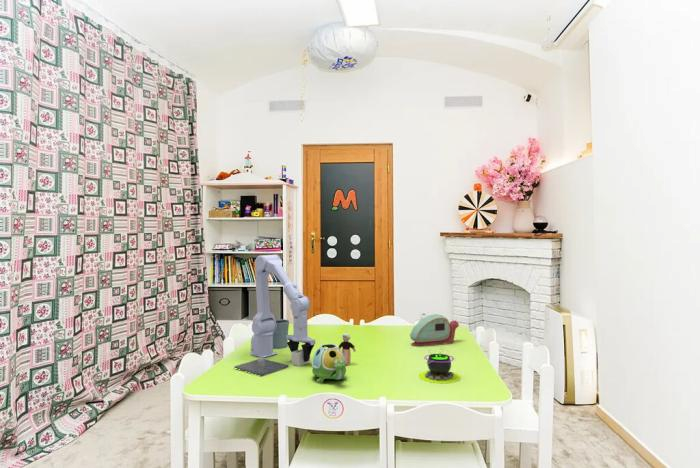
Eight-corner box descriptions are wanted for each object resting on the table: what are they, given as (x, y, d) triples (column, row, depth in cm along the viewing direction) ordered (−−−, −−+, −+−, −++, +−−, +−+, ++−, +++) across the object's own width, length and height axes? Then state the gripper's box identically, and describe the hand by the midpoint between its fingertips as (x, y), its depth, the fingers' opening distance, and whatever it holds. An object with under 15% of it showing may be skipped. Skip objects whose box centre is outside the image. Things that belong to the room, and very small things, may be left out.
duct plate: (234, 368, 182) (234, 358, 182) (261, 360, 193) (261, 351, 193) (261, 376, 172) (261, 365, 172) (288, 367, 183) (288, 357, 183)
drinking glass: (263, 348, 214) (263, 322, 214) (273, 343, 223) (273, 318, 223) (283, 349, 211) (283, 323, 211) (292, 344, 220) (292, 319, 220)
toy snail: (414, 347, 213) (414, 317, 213) (407, 343, 220) (407, 315, 220) (462, 343, 220) (462, 314, 220) (454, 339, 227) (454, 311, 227)
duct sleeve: (299, 366, 185) (299, 353, 185) (291, 364, 188) (291, 351, 188) (310, 362, 190) (309, 350, 190) (302, 360, 193) (302, 348, 193)
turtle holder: (324, 390, 157) (323, 355, 157) (307, 375, 173) (307, 343, 173) (357, 385, 162) (357, 351, 162) (338, 370, 178) (337, 340, 178)
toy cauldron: (431, 368, 181) (431, 340, 180) (467, 375, 171) (466, 346, 171) (411, 378, 169) (410, 348, 169) (448, 386, 159) (448, 355, 159)
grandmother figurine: (336, 365, 186) (336, 333, 186) (338, 362, 189) (337, 331, 189) (355, 365, 185) (355, 334, 184) (356, 363, 188) (356, 332, 188)
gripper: (280, 326, 190) (281, 359, 190) (306, 330, 181) (307, 365, 181) (293, 323, 196) (293, 355, 196) (318, 327, 187) (319, 361, 187)
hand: (300, 359), depth 189 cm, fingers open, 6 cm apart
